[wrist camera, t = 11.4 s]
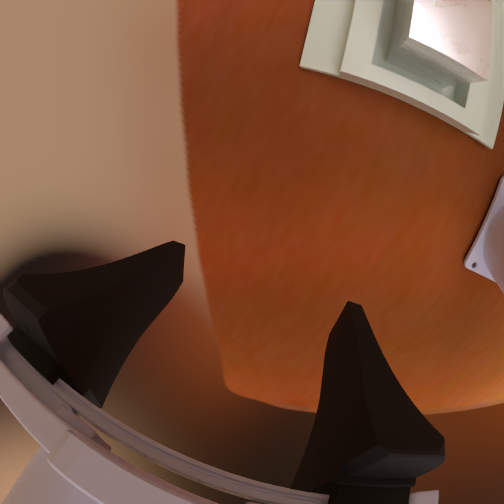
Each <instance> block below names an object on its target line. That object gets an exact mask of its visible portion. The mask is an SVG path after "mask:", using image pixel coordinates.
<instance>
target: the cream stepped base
mask: <svg viewBox="0 0 504 504" xmlns="http://www.w3.org/2000/svg"><path fill="white" fill-rule="evenodd" d="M396 2H397V0H315V3H314V7H313V11H312V16H311V20H310V24H309V28H308V33H307V37H306V41H305V45H304V49H303V54H302V58H301V62H300V67H301V68H304V69H308V70H312V71H316V72H320V73H324V74H327V75H331V76H335V77H338V78H341V79H345V80H348V81H351V82H354V83H357V84H360V85H363V86H366V87H369V88H371V89H374V90H377V91H380V92H382V93H385V94H387V95H390V96H392V97H395V98H397V99H399V100H402V101H404V102H406V103H408V104H411V105H413V106H415V107H417V108H419V109H421V110H423V111H425V112H428V113H430V114H431V115H433V116H435V117H437V118H439V119H441V120H443V121H445V122H447V123H448V124H450V125H452V126H454V127H455V128H457V129H459V130H461V131H462V132H464V133H466V134H467V135H469V136H470V137H472V138H474V139H475V140H477V141H478V142H480V143H481V144H483V145H484V146H486V147H487V148H490V149H493V146H494V142H495V139H496V135H497V131H498V127H499V122H500V118H501V113H502V108H503V102H504V0H492V41H491V55H490V65H489V73H488V80H487V81H482V82H475V83H468V84H462V85H456V86H451V87H446V88H441V87H440V86H438V85H436V84H434V83H432V82H430V81H428V80H426V79H424V78H422V77H420V76H417V75H415V74H413V73H411V72H409V71H406V70H404V69H402V68H399V67H397V66H395V65H392V64H390V63H387V62H386V57H387V52H388V48H389V43H390V37H391V32H392V27H393V21H394V15H395V8H396Z"/></svg>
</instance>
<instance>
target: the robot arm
mask: <svg viewBox="0 0 504 504" xmlns="http://www.w3.org/2000/svg"><path fill="white" fill-rule="evenodd" d="M184 255H185V245H184V244H181V243H178V242H175V241H171V242H168V243H165V244H162V245H159V246H156V247H154V248H152V249H149V250H146V251H143V252H141V253H138V254H135V255H133V256H130V257H127V258H124V259H121V260H118V261H115V262H112V263H108V264H105V265H101V266H97V267H93V268H88V269H83V270H77V271H71V272H63V273H52V274H22V275H20V276H19V277H18V278H17V279H15V280H14V281H13V282H12V283H10V284H9V285H8V286H7V287H6V288H5V289H4V290H3V295H4V299H5V302H6V304H7V306H8V308H9V310H10V312H11V314H12V316H13V319H14V321H15V322H16V324H17V327H16V328H14V329H13V328H12V327H11V325H10V324H9V323H8V322H7V321H6V319H5V318H3V316H2V315H1V314H0V398H1V399H2V401H3V402H4V403H5V404H6V406H7V407H8V408H9V409H10V411H11V412H12V414H13V415H14V416H15V417H16V418H17V420H18V421H19V422H20V423H21V424H22V426H23V427H24V428H25V429H26V430H27V431H28V432H29V433H30V435H31V436H32V437H33V438H34V439H35V440H36V441H37V442H38V443H39V444H40V445H41V446H40V447H39V449H38V450H37V452H36V453H35V454H34V456H33V457H32V459H31V460H30V461H29V463H28V464H27V466H26V467H25V469H24V470H23V472H22V473H21V475H20V477H19V478H18V479H17V481H16V482H15V484H14V485H13V487H12V488H11V490H10V492H9V493H8V495H7V497H6V498H5V499H4V501H3V503H2V504H218V503H215V502H213V501H210V500H207V499H205V498H202V497H200V496H197V495H195V494H192V493H190V492H187V491H185V490H183V489H181V488H178V487H176V486H174V485H171V484H169V483H167V482H165V481H163V480H161V479H159V478H157V477H155V476H153V475H151V474H149V473H147V472H145V471H143V470H142V469H140V468H138V467H136V466H134V465H132V464H131V463H129V462H127V461H126V460H124V459H122V458H120V457H119V456H117V455H115V454H114V453H112V452H111V451H110V450H111V446H109V445H108V444H107V443H106V442H104V440H102V438H100V436H98V434H97V433H96V431H95V430H94V429H93V428H91V427H90V426H89V425H88V424H86V423H85V422H84V421H83V420H81V419H80V418H79V417H78V415H79V416H80V417H82V418H83V419H84V420H86V421H87V422H88V423H90V424H91V425H93V426H94V427H95V428H97V429H98V430H100V431H101V432H103V433H104V434H106V435H107V436H109V437H110V438H112V439H113V440H115V441H117V442H118V443H120V444H121V445H123V446H125V447H126V448H128V449H130V450H132V451H133V452H135V453H137V454H139V455H140V456H142V457H144V458H146V459H148V460H150V461H152V462H154V463H156V464H158V465H160V466H162V467H164V468H166V469H169V470H170V471H172V472H174V473H177V474H179V475H181V476H184V477H186V478H188V479H191V480H193V481H196V482H198V483H201V484H203V485H206V486H209V487H212V488H214V489H217V490H220V491H223V492H226V493H229V494H233V495H236V496H239V497H243V498H246V499H250V500H254V501H258V502H262V503H266V504H438V497H439V491H438V490H432V491H423V492H415V493H410V487H413V486H414V485H415V483H416V477H418V476H420V475H423V474H425V473H427V472H429V471H431V470H433V469H435V468H437V467H439V466H440V465H441V464H442V463H443V462H444V460H445V440H444V437H443V436H442V435H441V434H440V433H439V432H438V431H437V430H436V429H435V428H434V427H433V426H432V425H431V424H430V423H429V422H428V421H427V420H426V418H425V417H424V416H423V415H422V413H421V412H420V411H419V410H418V409H417V407H416V406H415V405H414V404H413V402H412V401H411V399H410V398H409V397H408V395H407V394H406V392H405V391H404V390H403V388H402V387H401V385H400V383H399V382H398V380H397V378H396V377H395V375H394V374H393V372H392V370H391V368H390V367H389V365H388V363H387V361H386V359H385V357H384V355H383V353H382V351H381V349H380V347H379V345H378V342H377V340H376V338H375V336H374V334H373V331H372V329H371V327H370V324H369V322H368V320H367V317H366V315H365V313H364V310H363V308H362V306H361V305H359V304H356V303H353V302H350V301H348V302H347V304H346V305H345V307H344V309H343V311H342V313H341V314H340V316H339V318H338V320H337V322H336V323H335V325H334V327H333V328H332V330H331V332H330V334H329V338H328V342H327V347H326V351H325V357H324V367H323V376H322V384H321V393H320V400H319V405H318V410H317V414H316V417H315V421H314V425H313V428H312V431H311V434H310V438H309V441H308V444H307V447H306V450H305V452H304V455H303V458H302V460H301V463H300V465H299V468H298V470H297V472H296V475H295V477H294V479H293V482H292V484H291V486H290V488H289V489H288V488H284V487H279V486H275V485H270V484H266V483H262V482H258V481H255V480H251V479H248V478H244V477H241V476H238V475H235V474H232V473H229V472H226V471H223V470H220V469H217V468H214V467H212V466H209V465H206V464H204V463H201V462H199V461H196V460H194V459H192V458H189V457H187V456H184V455H182V454H180V453H178V452H176V451H173V450H171V449H169V448H167V447H165V446H163V445H161V444H159V443H157V442H155V441H153V440H151V439H149V438H148V437H146V436H144V435H142V434H140V433H138V432H137V431H135V430H133V429H131V428H130V427H128V426H126V425H125V424H123V423H121V422H120V421H118V420H117V419H115V418H113V417H112V416H110V415H109V414H107V413H106V412H104V411H103V410H101V409H100V408H102V406H103V404H104V401H105V399H106V397H107V395H108V393H109V390H110V388H111V386H112V384H113V382H114V380H115V378H116V376H117V374H118V373H119V371H120V369H121V367H122V365H123V364H124V362H125V360H126V359H127V357H128V355H129V353H130V352H131V350H132V349H133V347H134V346H135V344H136V343H137V341H138V339H139V338H140V337H141V335H142V334H143V333H144V331H145V330H146V329H147V328H148V327H149V325H150V324H151V323H152V322H153V320H154V319H155V318H156V317H157V316H158V315H159V314H160V312H161V311H162V310H163V309H164V308H165V306H166V305H167V304H168V303H169V302H170V300H171V299H172V298H173V296H174V295H175V293H176V292H177V290H178V289H179V287H180V285H181V284H182V282H183V271H184ZM473 263H475V264H474V265H473V266H472V264H473ZM464 265H465V267H466V268H467V269H470V270H472V271H474V272H476V273H478V274H480V275H482V276H484V277H486V278H488V279H490V280H492V281H494V282H496V283H497V284H498V286H499V287H500V289H501V291H502V292H503V294H504V175H503V176H502V177H501V179H500V182H499V185H498V188H497V191H496V193H495V196H494V198H493V201H492V203H491V206H490V208H489V211H488V213H487V215H486V217H485V220H484V222H483V224H482V226H481V228H480V230H479V233H478V235H477V237H476V239H475V241H474V243H473V245H472V247H471V249H470V250H469V252H468V254H467V256H466V258H465V260H464ZM77 414H78V415H77ZM245 504H259V503H253V502H247V503H245Z"/></svg>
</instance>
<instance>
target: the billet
mask: <svg viewBox="0 0 504 504" xmlns="http://www.w3.org/2000/svg"><path fill="white" fill-rule="evenodd" d="M491 41H492V0H397V2H396V8H395V15H394V21H393V27H392V32H391V37H390V43H389V48H388V52H387V57H386V62H387V63H390V64H392V65H395V66H397V67H399V68H402V69H404V70H406V71H409V72H411V73H413V74H415V75H417V76H420V77H422V78H424V79H426V80H428V81H430V82H432V83H434V84H436V85H438V86H440V87H441V88H446V87H451V86H456V85H462V84H468V83H475V82H482V81H487V80H488V73H489V65H490V55H491Z"/></svg>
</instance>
